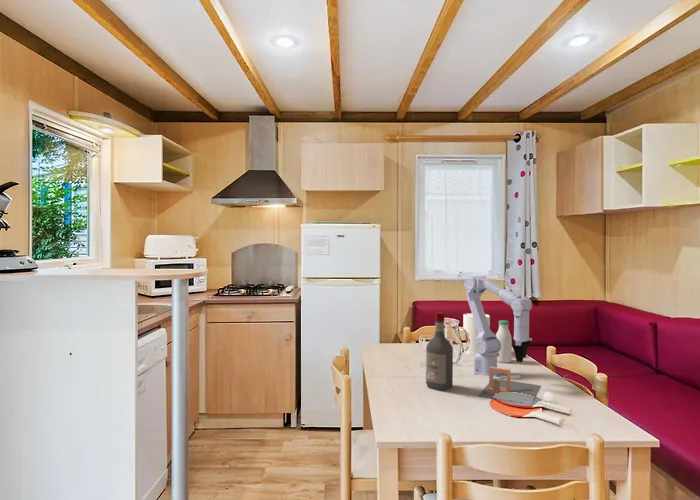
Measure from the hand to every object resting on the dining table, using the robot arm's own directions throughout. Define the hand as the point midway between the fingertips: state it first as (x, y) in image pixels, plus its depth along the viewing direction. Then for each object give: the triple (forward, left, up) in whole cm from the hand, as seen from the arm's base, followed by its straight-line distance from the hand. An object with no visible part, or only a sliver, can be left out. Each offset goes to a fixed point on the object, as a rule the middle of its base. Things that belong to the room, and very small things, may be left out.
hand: (521, 359), depth 180 cm
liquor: (-28, -20, -11) cm, 36 cm away
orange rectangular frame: (-5, -14, -10) cm, 18 cm away
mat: (-2, -11, -10) cm, 15 cm away
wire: (-3, -13, -10) cm, 17 cm away
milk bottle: (-14, +34, -11) cm, 38 cm away
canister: (-30, +44, -11) cm, 54 cm away
